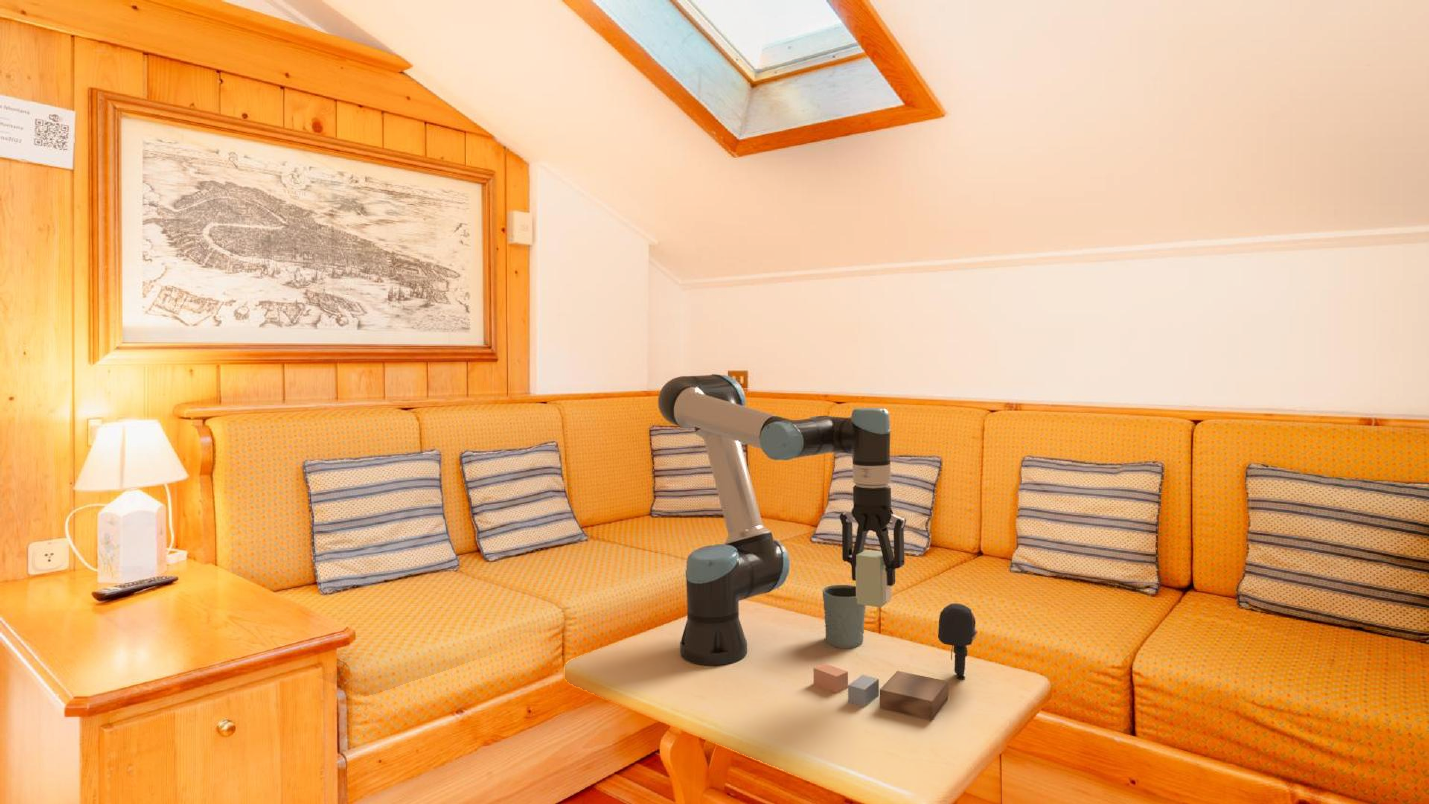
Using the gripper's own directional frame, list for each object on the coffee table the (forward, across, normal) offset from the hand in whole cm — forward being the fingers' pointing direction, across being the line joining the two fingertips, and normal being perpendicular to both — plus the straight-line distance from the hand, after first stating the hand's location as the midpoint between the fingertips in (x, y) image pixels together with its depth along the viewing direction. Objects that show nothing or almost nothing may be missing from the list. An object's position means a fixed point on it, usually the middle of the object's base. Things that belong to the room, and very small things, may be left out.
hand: (873, 598), depth 158 cm
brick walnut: (+18, +10, -6) cm, 21 cm away
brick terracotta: (+17, -7, -7) cm, 20 cm away
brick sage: (+1, 0, 0) cm, 1 cm away
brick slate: (+17, +1, -9) cm, 19 cm away
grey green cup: (+17, -14, +17) cm, 28 cm away
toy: (+17, +14, +11) cm, 25 cm away
